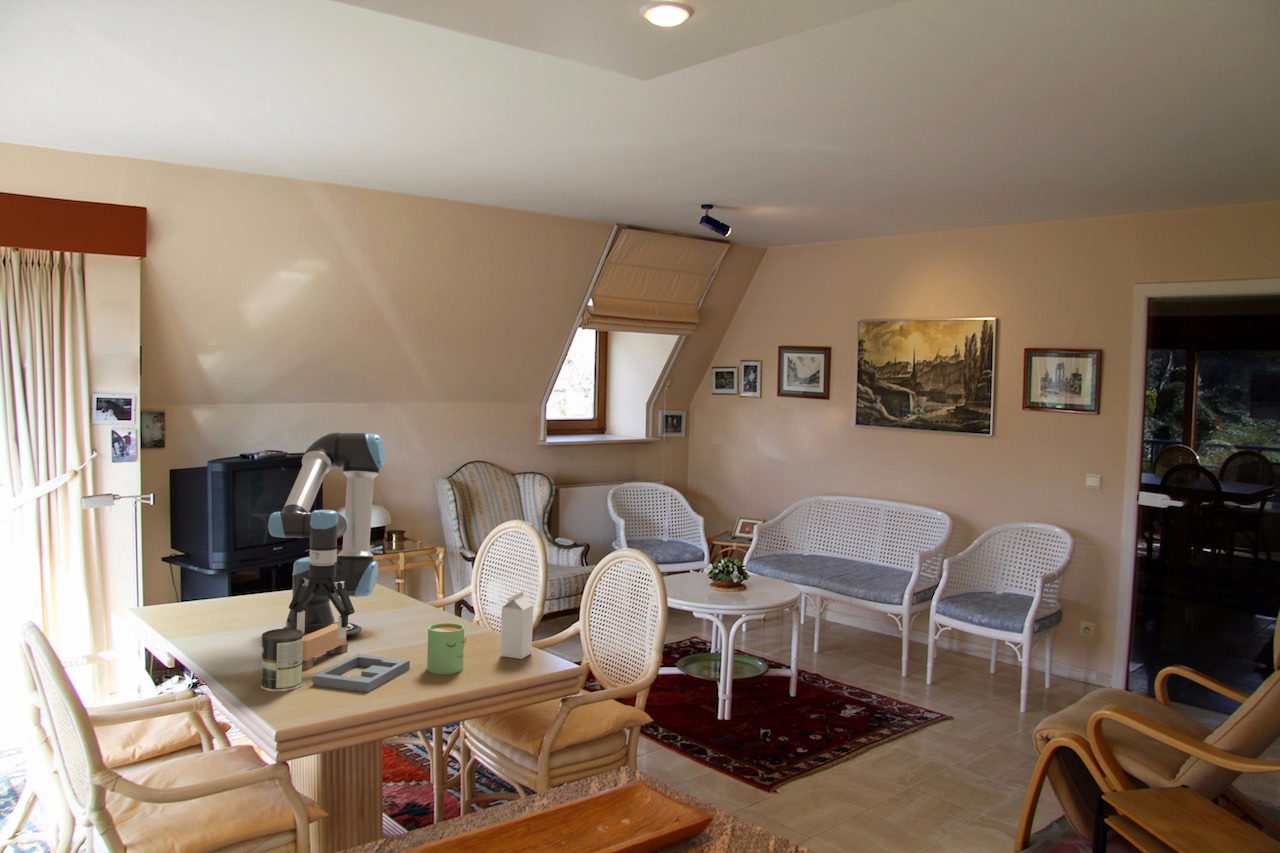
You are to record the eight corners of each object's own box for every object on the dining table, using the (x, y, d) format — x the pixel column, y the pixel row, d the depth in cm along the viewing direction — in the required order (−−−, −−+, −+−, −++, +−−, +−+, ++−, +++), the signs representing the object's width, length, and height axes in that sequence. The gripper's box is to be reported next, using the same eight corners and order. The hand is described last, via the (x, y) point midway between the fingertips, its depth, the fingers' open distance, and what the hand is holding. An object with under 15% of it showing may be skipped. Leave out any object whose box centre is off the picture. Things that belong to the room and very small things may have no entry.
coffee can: (255, 691, 242) (256, 638, 241) (267, 679, 252) (268, 628, 252) (296, 692, 243) (297, 638, 242) (306, 679, 253) (307, 628, 252)
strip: (293, 666, 263) (294, 639, 263) (334, 648, 282) (335, 623, 282) (306, 667, 262) (306, 641, 262) (346, 649, 281) (346, 624, 281)
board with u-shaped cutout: (313, 685, 249) (313, 675, 249) (358, 662, 270) (358, 654, 270) (368, 692, 245) (368, 682, 244) (409, 668, 266) (409, 660, 266)
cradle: (292, 667, 263) (292, 659, 263) (332, 649, 282) (333, 641, 282) (307, 669, 262) (307, 660, 262) (347, 651, 281) (347, 643, 281)
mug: (446, 676, 260) (447, 634, 260) (419, 669, 266) (420, 627, 265) (477, 666, 271) (478, 625, 270) (450, 659, 276) (451, 619, 276)
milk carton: (531, 653, 285) (533, 592, 285) (521, 659, 279) (523, 596, 278) (511, 650, 288) (512, 589, 287) (500, 656, 281) (502, 594, 280)
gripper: (277, 562, 271) (275, 634, 271) (353, 568, 264) (351, 643, 265) (293, 558, 278) (291, 629, 278) (367, 564, 271) (365, 637, 272)
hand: (320, 636), depth 271 cm, fingers open, 13 cm apart
